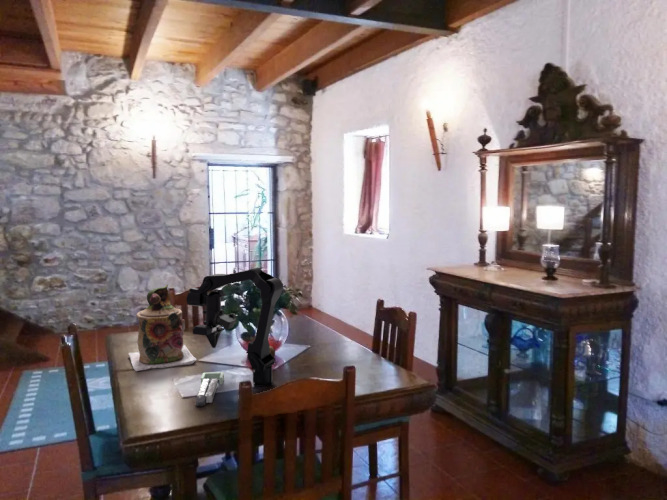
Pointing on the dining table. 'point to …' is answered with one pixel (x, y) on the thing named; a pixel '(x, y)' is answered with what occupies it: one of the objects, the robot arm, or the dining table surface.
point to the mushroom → (272, 351)
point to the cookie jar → (160, 334)
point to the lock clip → (213, 376)
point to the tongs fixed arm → (211, 390)
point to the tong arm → (202, 393)
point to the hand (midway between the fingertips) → (214, 347)
